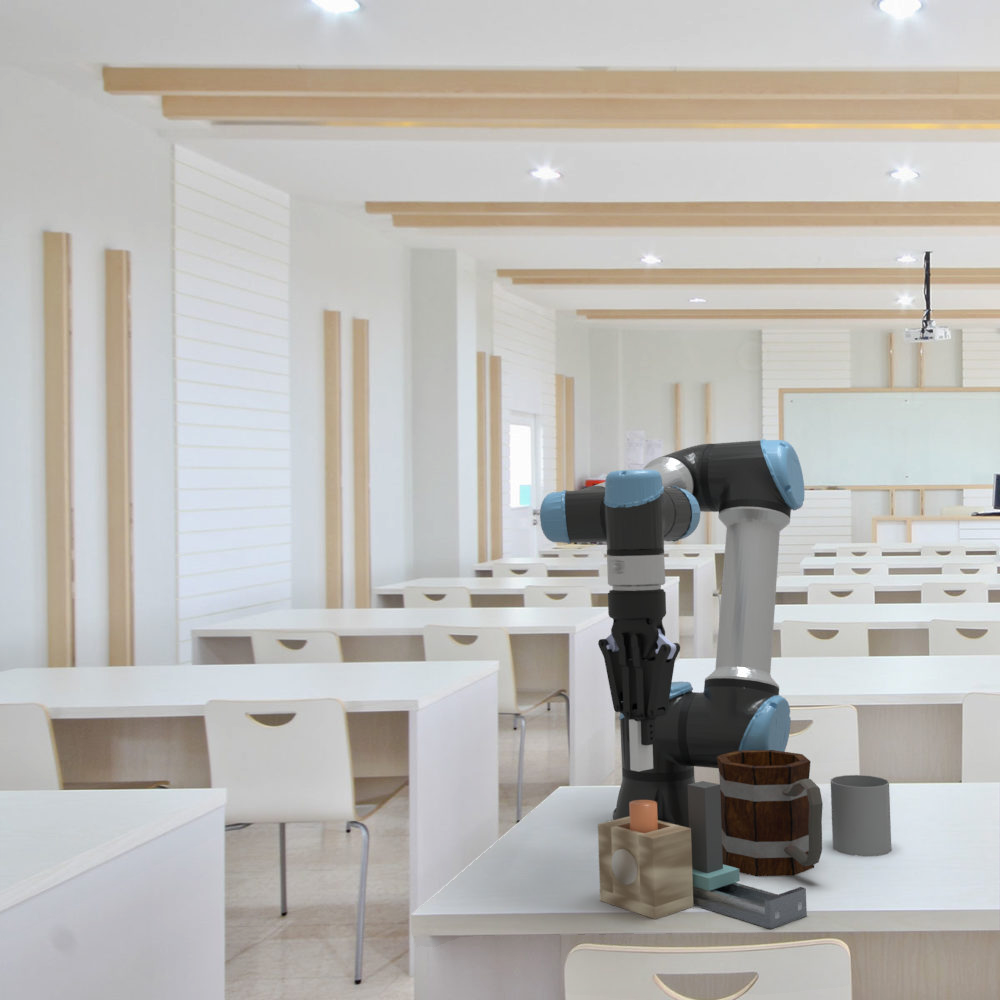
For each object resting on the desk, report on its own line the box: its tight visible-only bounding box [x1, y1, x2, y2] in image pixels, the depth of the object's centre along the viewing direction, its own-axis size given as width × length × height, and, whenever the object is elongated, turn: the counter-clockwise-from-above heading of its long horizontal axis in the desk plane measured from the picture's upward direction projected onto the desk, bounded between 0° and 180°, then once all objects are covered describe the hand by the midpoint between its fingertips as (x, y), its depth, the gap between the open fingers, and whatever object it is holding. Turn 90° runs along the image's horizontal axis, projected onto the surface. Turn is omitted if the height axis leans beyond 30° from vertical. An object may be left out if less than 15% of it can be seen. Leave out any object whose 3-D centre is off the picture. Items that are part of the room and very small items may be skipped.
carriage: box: [688, 780, 741, 891], centre depth 154 cm, size 6×6×13 cm
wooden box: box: [597, 816, 694, 920], centre depth 152 cm, size 10×7×10 cm
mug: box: [717, 750, 823, 877], centre depth 166 cm, size 20×14×15 cm
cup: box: [830, 774, 892, 857], centre depth 175 cm, size 8×8×10 cm
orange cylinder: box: [629, 800, 658, 833], centre depth 152 cm, size 4×4×8 cm
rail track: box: [693, 882, 808, 930], centre depth 151 cm, size 18×7×3 cm, turn 38°
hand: (641, 769), depth 152 cm, fingers closed
